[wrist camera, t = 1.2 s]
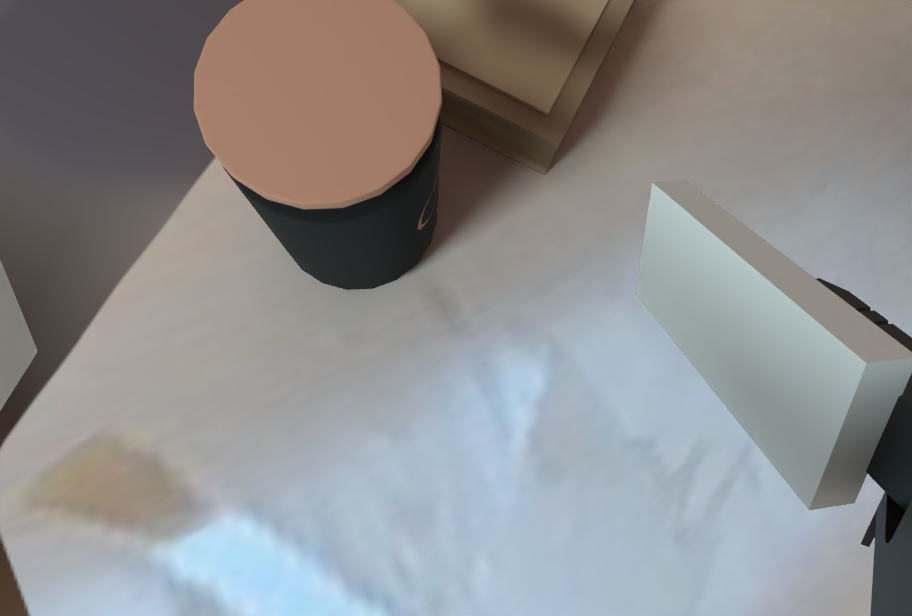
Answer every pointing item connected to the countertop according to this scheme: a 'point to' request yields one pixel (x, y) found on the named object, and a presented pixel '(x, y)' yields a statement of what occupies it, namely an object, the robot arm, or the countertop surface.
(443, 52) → the wooden tray
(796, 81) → the countertop surface
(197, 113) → the coffee jar
